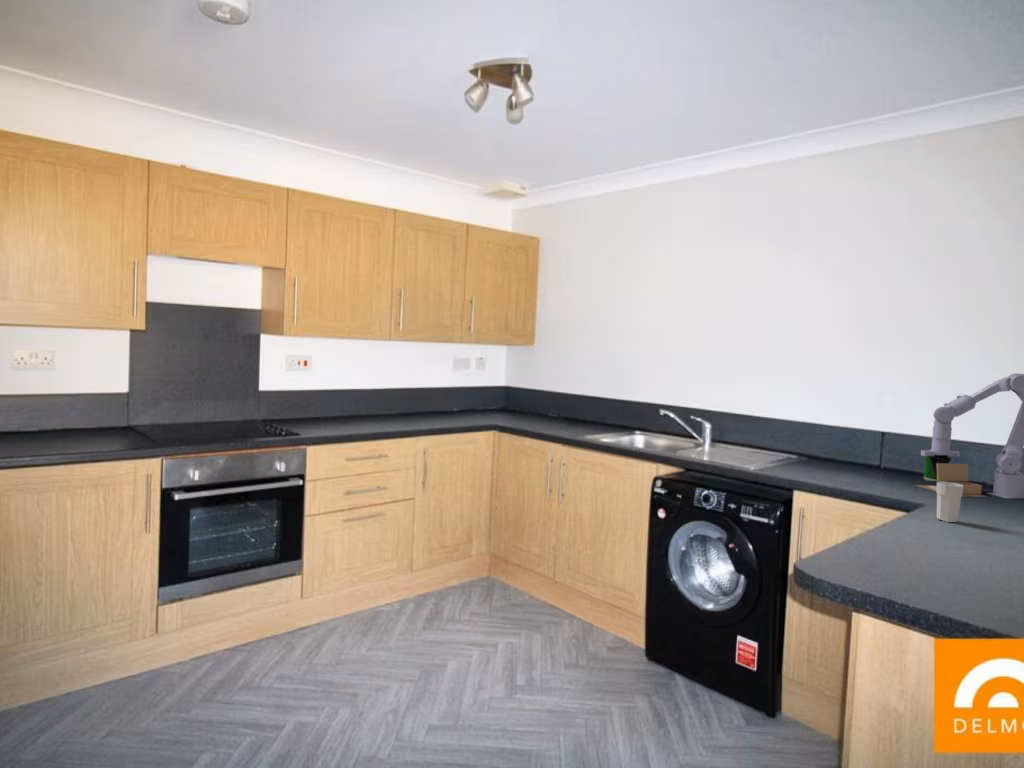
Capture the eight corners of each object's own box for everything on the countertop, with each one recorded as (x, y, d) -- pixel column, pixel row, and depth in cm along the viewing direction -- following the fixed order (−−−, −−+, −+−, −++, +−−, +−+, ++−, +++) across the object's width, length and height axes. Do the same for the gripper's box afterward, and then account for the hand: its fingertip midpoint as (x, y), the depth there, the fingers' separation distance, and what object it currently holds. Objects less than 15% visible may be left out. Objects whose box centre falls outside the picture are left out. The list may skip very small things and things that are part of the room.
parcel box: (966, 491, 237) (967, 481, 237) (980, 495, 231) (981, 485, 231) (937, 490, 235) (937, 481, 235) (950, 494, 229) (951, 484, 229)
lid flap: (968, 481, 236) (967, 481, 237) (967, 463, 237) (966, 463, 237) (938, 480, 234) (937, 480, 235) (937, 463, 235) (936, 463, 236)
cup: (948, 524, 188) (951, 486, 188) (928, 518, 195) (931, 481, 194) (966, 523, 190) (969, 486, 190) (945, 517, 197) (948, 481, 196)
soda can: (942, 484, 251) (945, 453, 250) (920, 481, 256) (923, 451, 256) (948, 482, 256) (951, 452, 255) (927, 479, 261) (929, 449, 261)
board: (948, 487, 246) (948, 485, 246) (988, 498, 229) (988, 496, 229) (915, 487, 244) (915, 485, 244) (953, 497, 227) (953, 496, 227)
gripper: (949, 438, 246) (946, 473, 247) (915, 437, 244) (912, 473, 245) (965, 441, 239) (962, 477, 240) (930, 440, 237) (927, 476, 238)
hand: (938, 475), depth 242 cm, fingers closed
